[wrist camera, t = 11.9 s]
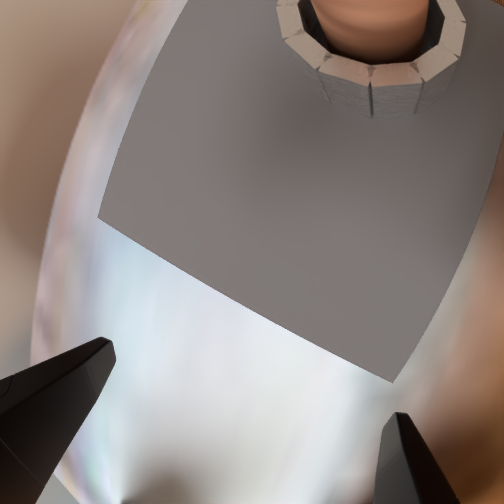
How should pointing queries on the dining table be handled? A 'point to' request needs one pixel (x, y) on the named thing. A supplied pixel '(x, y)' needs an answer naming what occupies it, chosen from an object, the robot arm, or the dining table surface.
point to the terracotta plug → (373, 29)
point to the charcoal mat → (308, 180)
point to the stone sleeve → (376, 76)
